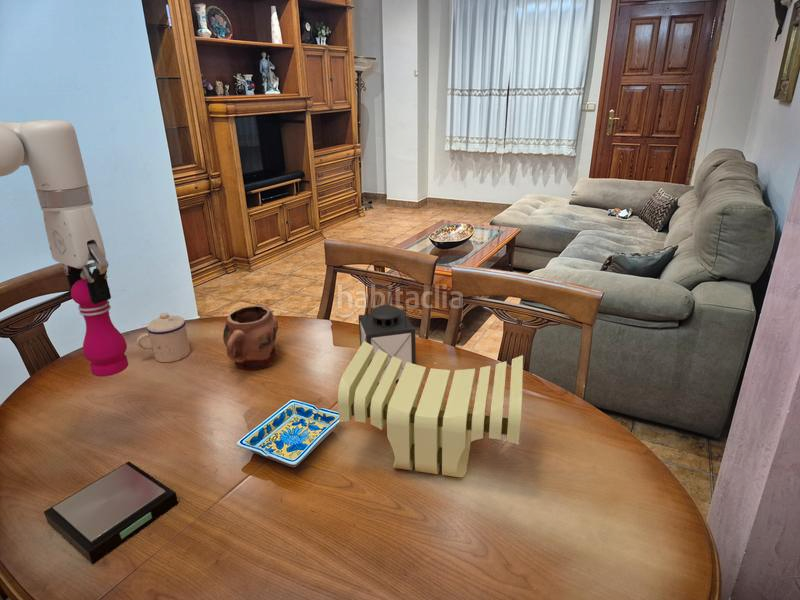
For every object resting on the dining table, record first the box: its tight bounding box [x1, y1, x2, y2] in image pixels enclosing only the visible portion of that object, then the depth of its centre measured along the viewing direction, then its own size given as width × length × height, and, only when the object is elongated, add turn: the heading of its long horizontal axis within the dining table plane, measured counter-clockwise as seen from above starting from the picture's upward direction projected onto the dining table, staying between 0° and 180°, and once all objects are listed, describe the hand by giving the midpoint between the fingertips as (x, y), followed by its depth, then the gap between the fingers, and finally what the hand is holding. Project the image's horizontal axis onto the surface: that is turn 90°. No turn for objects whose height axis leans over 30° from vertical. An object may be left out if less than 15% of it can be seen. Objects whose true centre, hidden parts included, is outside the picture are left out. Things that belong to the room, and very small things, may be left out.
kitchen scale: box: [43, 461, 179, 565], centre depth 83 cm, size 14×14×3 cm
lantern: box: [357, 260, 417, 387], centre depth 117 cm, size 11×11×28 cm
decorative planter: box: [222, 304, 279, 371], centre depth 124 cm, size 20×12×14 cm, turn 174°
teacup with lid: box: [136, 312, 191, 363], centre depth 130 cm, size 12×9×12 cm
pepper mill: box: [70, 270, 129, 378], centre depth 94 cm, size 7×7×20 cm
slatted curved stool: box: [337, 341, 524, 478], centre depth 92 cm, size 30×16×18 cm, turn 77°
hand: (91, 296), depth 93 cm, fingers closed on pepper mill, 6 cm apart
